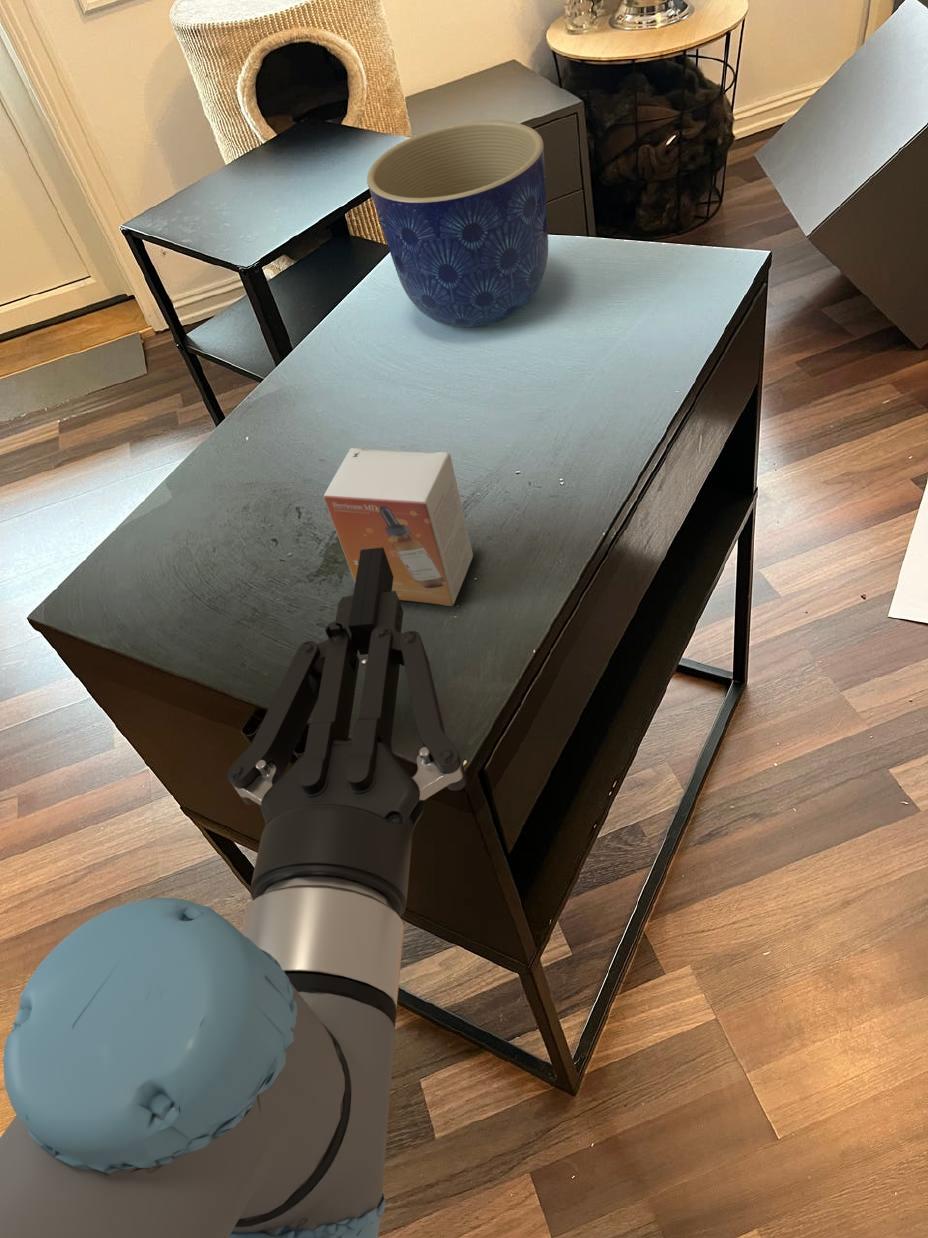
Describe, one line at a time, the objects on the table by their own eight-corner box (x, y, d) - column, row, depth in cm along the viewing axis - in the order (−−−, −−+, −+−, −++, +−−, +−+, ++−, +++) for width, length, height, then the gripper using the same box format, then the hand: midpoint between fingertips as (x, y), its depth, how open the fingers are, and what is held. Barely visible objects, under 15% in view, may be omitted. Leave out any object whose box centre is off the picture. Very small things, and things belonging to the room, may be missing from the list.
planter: (442, 369, 92) (407, 219, 80) (379, 302, 103) (341, 162, 92) (591, 305, 94) (577, 151, 83) (514, 247, 106) (492, 104, 94)
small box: (358, 598, 72) (318, 495, 65) (383, 548, 76) (348, 445, 68) (455, 608, 70) (425, 502, 62) (476, 555, 73) (450, 449, 65)
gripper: (228, 948, 48) (299, 612, 64) (475, 938, 46) (486, 592, 62) (167, 882, 43) (262, 532, 58) (444, 867, 40) (465, 508, 56)
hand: (377, 563), depth 60 cm, fingers closed
